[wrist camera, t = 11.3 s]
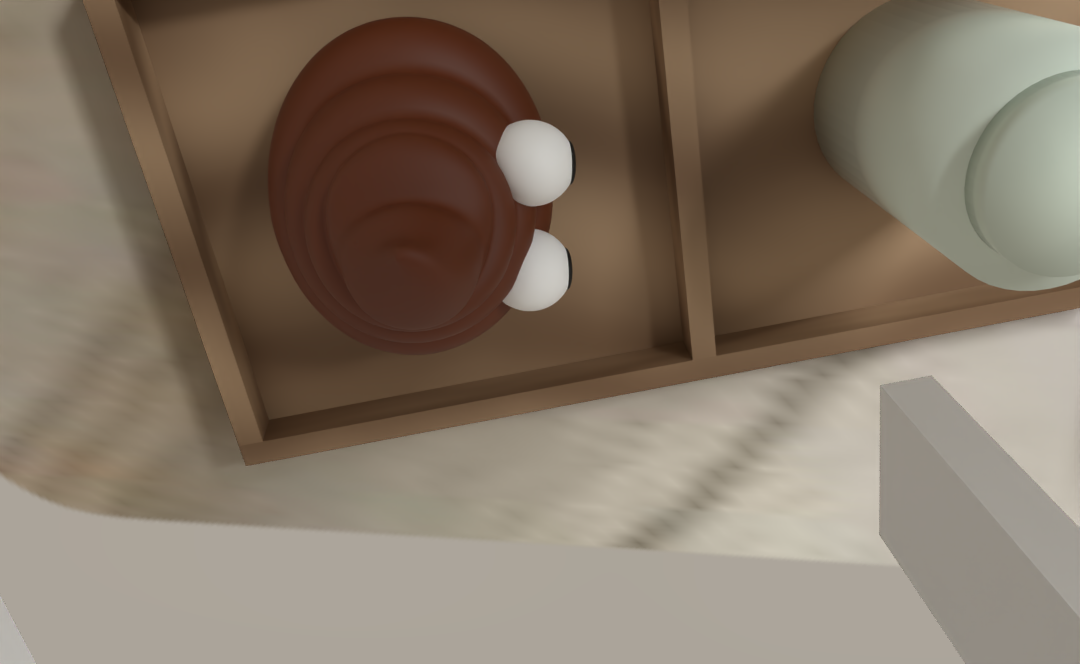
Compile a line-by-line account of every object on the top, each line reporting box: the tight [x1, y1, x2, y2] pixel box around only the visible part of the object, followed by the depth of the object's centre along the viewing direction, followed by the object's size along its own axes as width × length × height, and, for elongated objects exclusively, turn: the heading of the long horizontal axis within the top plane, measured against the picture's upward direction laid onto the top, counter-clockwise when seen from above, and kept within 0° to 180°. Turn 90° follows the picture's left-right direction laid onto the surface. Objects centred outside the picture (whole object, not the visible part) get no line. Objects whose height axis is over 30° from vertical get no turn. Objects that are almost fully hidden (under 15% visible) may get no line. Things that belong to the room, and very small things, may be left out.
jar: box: [814, 0, 1080, 291], centre depth 27 cm, size 6×6×9 cm
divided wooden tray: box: [83, 0, 1080, 466], centre depth 30 cm, size 16×31×2 cm, turn 99°
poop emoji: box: [268, 17, 576, 355], centre depth 26 cm, size 10×8×9 cm
